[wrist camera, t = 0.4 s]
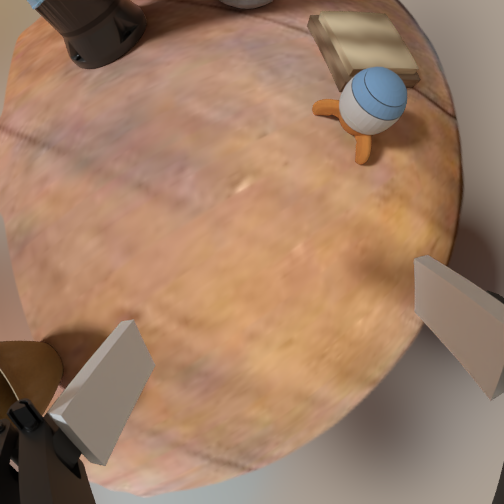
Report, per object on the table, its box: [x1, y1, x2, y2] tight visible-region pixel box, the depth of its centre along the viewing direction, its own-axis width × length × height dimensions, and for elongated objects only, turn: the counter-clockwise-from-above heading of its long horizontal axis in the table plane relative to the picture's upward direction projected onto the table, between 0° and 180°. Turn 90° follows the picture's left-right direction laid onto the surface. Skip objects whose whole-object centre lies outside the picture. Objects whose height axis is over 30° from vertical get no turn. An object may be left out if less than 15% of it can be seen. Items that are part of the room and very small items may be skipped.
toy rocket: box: [312, 67, 407, 165], centre depth 29 cm, size 10×11×15 cm
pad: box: [307, 11, 420, 92], centre depth 32 cm, size 14×14×5 cm
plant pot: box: [0, 341, 63, 428], centre depth 29 cm, size 15×15×16 cm
